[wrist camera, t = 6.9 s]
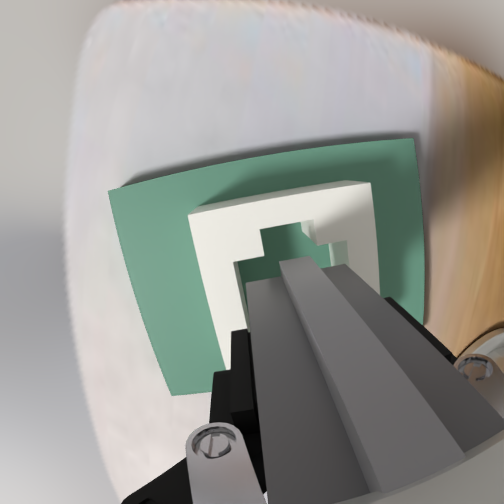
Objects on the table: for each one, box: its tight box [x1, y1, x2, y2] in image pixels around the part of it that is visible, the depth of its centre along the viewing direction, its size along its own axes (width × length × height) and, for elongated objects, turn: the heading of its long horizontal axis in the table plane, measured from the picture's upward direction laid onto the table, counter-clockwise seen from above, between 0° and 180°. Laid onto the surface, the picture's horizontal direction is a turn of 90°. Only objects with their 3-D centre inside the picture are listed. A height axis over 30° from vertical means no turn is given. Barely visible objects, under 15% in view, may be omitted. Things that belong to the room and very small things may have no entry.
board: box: [108, 138, 425, 396], centre depth 19 cm, size 18×14×2 cm
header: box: [188, 180, 380, 370], centre depth 16 cm, size 8×9×4 cm
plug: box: [246, 256, 504, 504], centre depth 8 cm, size 4×5×10 cm
